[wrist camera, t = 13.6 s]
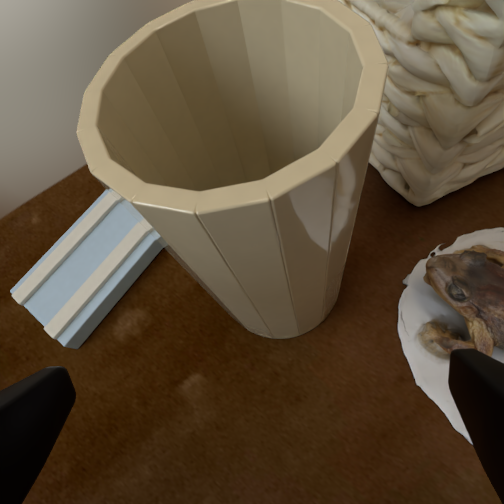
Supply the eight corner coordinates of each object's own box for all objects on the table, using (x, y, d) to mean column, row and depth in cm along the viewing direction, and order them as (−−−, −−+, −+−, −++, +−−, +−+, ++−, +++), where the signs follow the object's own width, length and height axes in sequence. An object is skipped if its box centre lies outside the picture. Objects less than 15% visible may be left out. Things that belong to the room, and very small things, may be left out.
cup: (352, 330, 17) (438, 169, 5) (225, 346, 18) (53, 240, 6) (326, 219, 20) (344, -41, 8) (219, 237, 20) (96, 25, 9)
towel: (78, 349, 19) (59, 345, 18) (24, 296, 21) (4, 289, 20) (184, 222, 21) (175, 211, 20) (126, 187, 24) (115, 174, 22)
